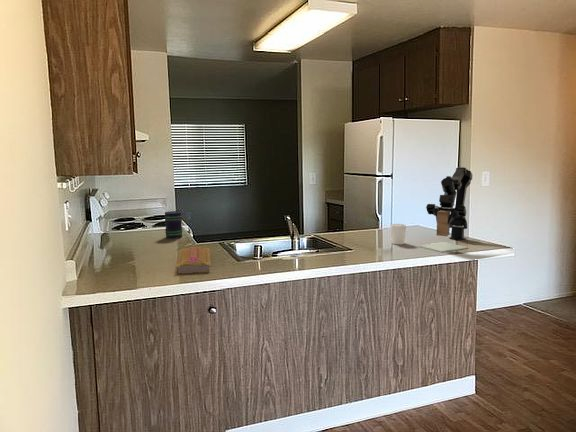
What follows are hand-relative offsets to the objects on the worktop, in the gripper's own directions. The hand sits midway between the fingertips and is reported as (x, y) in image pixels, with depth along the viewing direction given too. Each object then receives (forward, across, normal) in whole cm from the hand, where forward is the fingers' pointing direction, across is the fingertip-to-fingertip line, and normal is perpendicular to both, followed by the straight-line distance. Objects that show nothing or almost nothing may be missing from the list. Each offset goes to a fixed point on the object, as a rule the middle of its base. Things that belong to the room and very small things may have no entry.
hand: (442, 223), depth 231 cm
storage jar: (+38, -145, -20) cm, 151 cm away
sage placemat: (+5, -1, +14) cm, 15 cm away
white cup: (+6, -24, +13) cm, 28 cm away
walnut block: (+3, 0, +5) cm, 6 cm away
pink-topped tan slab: (+68, -88, -49) cm, 122 cm away
